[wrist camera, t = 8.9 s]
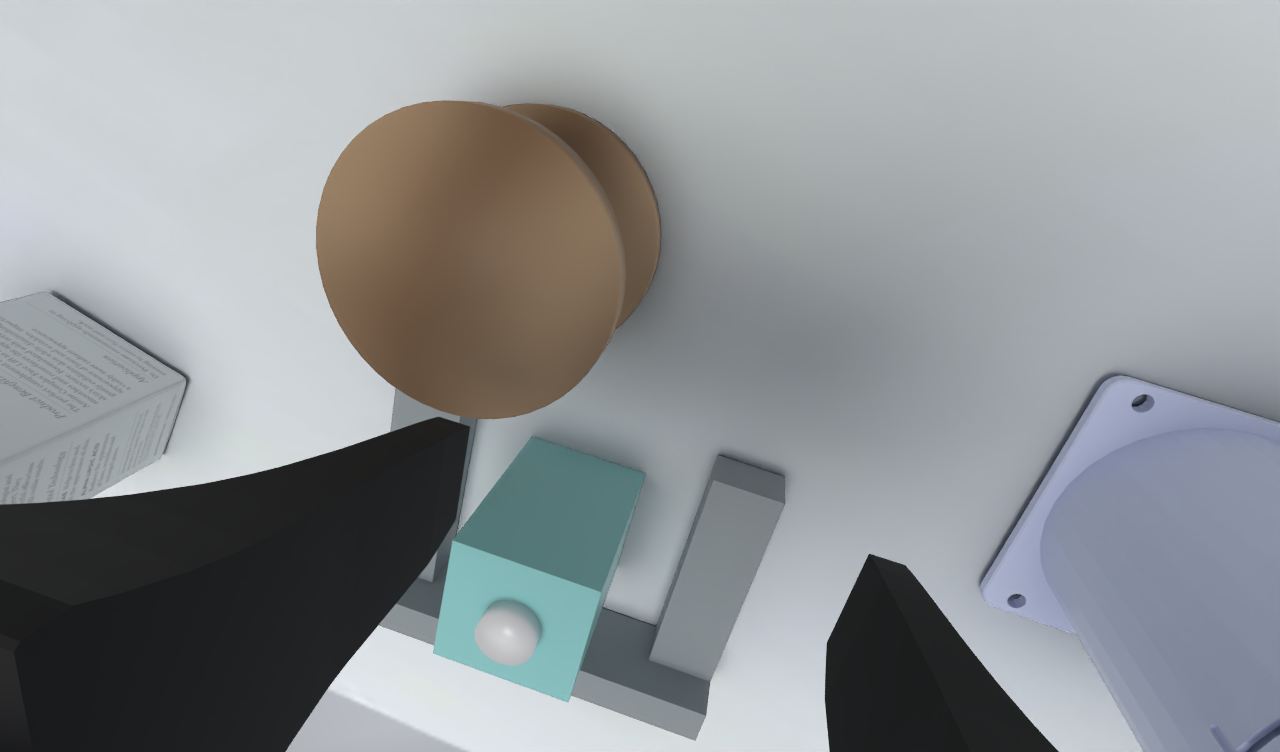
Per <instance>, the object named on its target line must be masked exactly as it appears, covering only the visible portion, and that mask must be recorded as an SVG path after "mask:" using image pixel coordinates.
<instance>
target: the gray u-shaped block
mask: <svg viewBox="0 0 1280 752" xmlns="http://www.w3.org/2000/svg"><path fill="white" fill-rule="evenodd" d="M435 417H442V418H445V419H448V420H451V421H455V422H458V423H461V424H464V425H467V426H470V432H469V438H468V445H467V451H466V458H465V464H464V471H463V477H462V484H461V490H460V497H459V503H458V510H457V516H456V520H455V522H454V524H453V525H452V527H451V529H450V530H449V532H448V534H447V535H446V537H445V539H444V540H443V542H442V543H441V545H440V547H439V548H438V550H437V551H436V553H435V554H434V556H433V558H432V559H431V561H430V562H429V564H428V565H427V566H426V568H425V569H424V570H423V571H422V573H421V574H420V575H419V576H418V578H417V579H416V580H415V581H414V583H413V584H412V585H411V586H410V587H409V589H408V590H407V591H406V592H405V594H404V595H403V596H402V597H401V598H400V600H399V601H398V602H397V603H396V604H395V606H394V607H393V608H392V609H391V610H390V612H389V613H388V614H387V615H386V616H385V618H384V619H383V620H382V621H381V622H380V624H379V625H380V626H383V627H385V628H388V629H391V630H393V631H396V632H399V633H402V634H404V635H407V636H410V637H413V638H415V639H418V640H421V641H424V642H426V643H429V644H432V645H434V644H435V638H436V633H437V627H438V621H439V615H440V610H441V604H442V598H443V592H444V587H445V581H446V575H447V569H448V564H449V558H450V552H451V546H452V541H453V539H454V538H455V537H456V533H457V527H458V522H459V516H460V511H461V505H462V500H463V494H464V489H465V483H466V478H467V472H468V466H469V461H470V455H471V450H472V444H473V439H474V433H475V428H476V422H477V419H476V418H469V417H462V416H457V415H453V414H450V413H446V412H442V411H439V410H437V409H434V408H432V407H429V406H427V405H424V404H422V403H420V402H418V401H417V400H415V399H413V398H411V397H409V396H407V395H406V394H404V393H403V392H401V391H400V390H398V389H397V388H396V390H395V398H394V406H393V414H392V423H391V431H390V432H392V431H395V430H398V429H401V428H404V427H406V426H409V425H412V424H415V423H418V422H421V421H424V420H428V419H431V418H435ZM784 505H785V477H784V476H781V475H777V474H774V473H771V472H768V471H765V470H762V469H759V468H756V467H753V466H750V465H747V464H744V463H741V462H738V461H735V460H732V459H729V458H726V457H723V456H720V455H718V456H717V459H716V462H715V465H714V468H713V470H712V473H711V476H710V479H709V482H708V484H707V487H706V490H705V493H704V496H703V498H702V501H701V504H700V507H699V509H698V512H697V515H696V518H695V521H694V523H693V526H692V529H691V532H690V535H689V537H688V540H687V543H686V546H685V549H684V551H683V554H682V557H681V560H680V562H679V565H678V568H677V571H676V574H675V576H674V579H673V582H672V585H671V588H670V590H669V593H668V596H667V599H666V602H665V604H664V607H663V610H662V613H661V616H660V618H659V621H658V624H657V627H655V626H652V625H650V624H647V623H644V622H641V621H638V620H635V619H633V618H630V617H627V616H624V615H621V614H618V613H616V612H613V611H610V610H607V609H604V608H602V610H601V613H600V616H599V618H598V621H597V624H596V627H595V630H594V632H593V635H592V638H591V641H590V644H589V646H588V649H587V652H586V655H585V657H584V660H583V663H582V666H581V669H580V671H579V674H578V677H577V680H576V683H575V685H574V688H573V691H572V694H571V695H572V696H574V697H577V698H580V699H582V700H585V701H588V702H591V703H593V704H596V705H599V706H602V707H604V708H607V709H610V710H613V711H615V712H618V713H621V714H624V715H626V716H629V717H632V718H635V719H637V720H640V721H643V722H645V723H648V724H651V725H654V726H656V727H659V728H662V729H665V730H667V731H670V732H673V733H676V734H678V735H681V736H684V737H687V738H689V739H692V740H696V738H697V736H698V733H699V731H700V729H701V726H702V724H703V722H704V719H705V717H706V712H707V703H708V695H709V687H710V681H711V679H712V676H713V674H714V671H715V669H716V667H717V664H718V662H719V660H720V657H721V655H722V652H723V650H724V648H725V645H726V643H727V641H728V638H729V636H730V633H731V631H732V629H733V626H734V624H735V622H736V619H737V617H738V614H739V612H740V610H741V607H742V605H743V603H744V600H745V598H746V595H747V593H748V591H749V588H750V586H751V584H752V581H753V579H754V577H755V574H756V572H757V569H758V567H759V565H760V562H761V560H762V558H763V555H764V553H765V550H766V548H767V546H768V543H769V541H770V539H771V536H772V534H773V531H774V529H775V527H776V524H777V522H778V520H779V517H780V515H781V512H782V510H783V508H784Z"/></svg>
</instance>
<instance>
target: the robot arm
mask: <svg viewBox="0 0 1280 752" xmlns="http://www.w3.org/2000/svg"><path fill="white" fill-rule="evenodd" d="M1142 394H1146V395H1147V398H1146V401H1145V402H1144V403H1143V404H1142V405H1139V406H1137V407H1133V406H1131V405H1132V401H1133V400H1134V399H1135V398H1136V397H1137V396H1139V395H1142ZM469 432H470V426H467V425H464V424H461V423H458V422H455V421H451V420H448V419H445V418H442V417H435V418H431V419H428V420H424V421H421V422H418V423H415V424H412V425H409V426H406V427H404V428H401V429H398V430H395V431H392V432H389V433H386V434H384V435H381V436H378V437H375V438H372V439H369V440H366V441H363V442H360V443H357V444H354V445H351V446H348V447H346V448H343V449H339V450H336V451H333V452H329V453H326V454H323V455H319V456H316V457H312V458H309V459H306V460H302V461H299V462H296V463H292V464H289V465H285V466H282V467H278V468H274V469H270V470H266V471H262V472H258V473H254V474H249V475H245V476H240V477H235V478H230V479H225V480H221V481H216V482H211V483H205V484H200V485H193V486H186V487H179V488H173V489H166V490H159V491H152V492H146V493H139V494H132V495H123V496H114V497H104V498H94V499H83V500H70V501H56V502H43V503H24V504H0V752H285V751H286V750H287V748H288V747H289V745H290V744H291V742H292V741H293V739H294V738H295V736H296V735H297V733H298V731H299V730H300V729H301V727H302V726H303V724H304V723H305V721H306V720H307V718H308V717H309V715H310V714H311V712H312V711H313V709H314V708H315V706H316V705H317V704H318V702H319V700H320V699H321V698H322V696H323V695H324V693H325V692H326V690H327V689H328V687H329V686H330V684H331V683H332V682H333V681H334V679H335V678H336V677H337V675H338V674H339V673H340V671H341V670H342V669H343V667H344V666H345V665H346V664H347V662H348V661H349V660H350V659H351V657H352V656H353V655H354V654H355V653H356V651H357V650H358V649H359V648H360V647H361V645H362V644H363V643H364V642H365V641H366V639H367V638H368V637H369V636H370V635H371V633H372V632H373V631H374V630H375V628H376V627H377V626H378V625H379V624H380V622H381V621H382V620H383V619H384V618H385V616H386V615H387V614H388V613H389V612H390V610H391V609H392V608H393V607H394V606H395V604H396V603H397V602H398V601H399V600H400V598H401V597H402V596H403V595H404V594H405V592H406V591H407V590H408V589H409V587H410V586H411V585H412V584H413V583H414V581H415V580H416V579H417V578H418V576H419V575H420V574H421V573H422V571H423V570H424V569H425V568H426V566H427V565H428V564H429V562H430V561H431V559H432V558H433V556H434V554H435V553H436V551H437V550H438V548H439V547H440V545H441V543H442V542H443V540H444V539H445V537H446V535H447V534H448V532H449V530H450V529H451V527H452V525H453V524H454V522H455V520H456V516H457V510H458V503H459V497H460V490H461V484H462V477H463V471H464V464H465V458H466V451H467V445H468V438H469ZM980 592H981V595H982V597H983V599H984V601H985V602H986V603H987V604H989V605H990V606H992V607H995V608H998V609H1001V610H1004V611H1007V612H1010V613H1013V614H1016V615H1019V616H1022V617H1025V618H1028V619H1031V620H1034V621H1037V622H1040V623H1043V624H1046V625H1049V626H1051V627H1054V628H1057V629H1060V630H1063V631H1066V632H1069V633H1072V634H1075V635H1077V636H1078V638H1079V639H1080V641H1081V643H1082V645H1083V646H1084V648H1085V650H1086V652H1087V653H1088V655H1089V657H1090V659H1091V660H1092V662H1093V664H1094V666H1095V667H1096V669H1097V671H1098V673H1099V674H1100V676H1101V678H1102V680H1103V681H1104V683H1105V685H1106V687H1107V688H1108V690H1109V692H1110V694H1111V695H1112V697H1113V699H1114V701H1115V702H1116V704H1117V706H1118V708H1119V709H1120V711H1121V713H1122V715H1123V716H1124V718H1125V720H1126V722H1127V723H1128V725H1129V727H1130V729H1131V730H1132V732H1133V734H1134V736H1135V737H1136V739H1137V741H1138V743H1139V744H1140V746H1141V748H1142V750H1143V751H1144V752H1280V423H1279V422H1276V421H1273V420H1270V419H1266V418H1263V417H1260V416H1256V415H1253V414H1250V413H1247V412H1243V411H1240V410H1237V409H1233V408H1230V407H1227V406H1224V405H1220V404H1217V403H1214V402H1210V401H1207V400H1204V399H1201V398H1197V397H1194V396H1191V395H1188V394H1184V393H1181V392H1178V391H1174V390H1171V389H1168V388H1165V387H1161V386H1158V385H1155V384H1151V383H1148V382H1145V381H1142V380H1138V379H1135V378H1132V377H1129V376H1121V375H1120V376H1115V377H1111V378H1109V379H1108V380H1106V381H1104V382H1103V384H1102V385H1101V386H1100V387H1099V388H1098V390H1097V392H1096V393H1095V395H1094V397H1093V398H1092V400H1091V402H1090V403H1089V405H1088V407H1087V408H1086V410H1085V412H1084V413H1083V415H1082V417H1081V418H1080V420H1079V422H1078V423H1077V425H1076V427H1075V428H1074V430H1073V432H1072V433H1071V435H1070V437H1069V438H1068V440H1067V442H1066V443H1065V445H1064V447H1063V448H1062V450H1061V452H1060V453H1059V455H1058V457H1057V458H1056V460H1055V461H1054V463H1053V465H1052V466H1051V468H1050V470H1049V471H1048V473H1047V475H1046V476H1045V478H1044V480H1043V481H1042V483H1041V485H1040V486H1039V488H1038V490H1037V491H1036V493H1035V495H1034V496H1033V498H1032V500H1031V501H1030V503H1029V505H1028V506H1027V508H1026V510H1025V511H1024V513H1023V515H1022V516H1021V518H1020V520H1019V521H1018V523H1017V525H1016V526H1015V528H1014V530H1013V531H1012V533H1011V534H1010V536H1009V538H1008V539H1007V541H1006V543H1005V544H1004V546H1003V548H1002V549H1001V551H1000V553H999V554H998V556H997V558H996V559H995V561H994V563H993V564H992V566H991V568H990V569H989V571H988V573H987V574H986V576H985V578H984V579H983V581H982V583H981V585H980ZM1014 594H1021V596H1020V597H1019V598H1017V599H1008V598H1009V597H1010V596H1011V595H1014ZM825 706H826V717H827V728H828V738H829V749H830V752H1059V751H1058V750H1057V749H1056V748H1055V747H1054V746H1053V745H1052V744H1051V743H1050V742H1049V741H1048V740H1047V739H1046V738H1045V737H1044V736H1043V734H1042V733H1041V732H1040V731H1039V730H1038V729H1037V728H1036V727H1035V726H1034V725H1033V724H1032V722H1031V721H1030V720H1029V719H1028V718H1027V717H1026V715H1025V714H1024V713H1023V712H1022V711H1021V710H1020V709H1019V707H1018V706H1017V705H1016V704H1015V703H1014V702H1013V700H1012V699H1011V698H1010V697H1009V696H1008V695H1007V693H1006V692H1005V691H1004V690H1003V689H1002V688H1001V686H1000V685H999V684H998V683H997V682H996V680H995V679H994V678H993V677H992V675H991V674H990V673H989V672H988V671H987V669H986V668H985V667H984V666H983V664H982V663H981V662H980V661H979V659H978V658H977V657H976V656H975V654H974V653H973V652H972V651H971V649H970V648H969V647H968V645H967V644H966V643H965V642H964V640H963V639H962V638H961V636H960V635H959V634H958V632H957V631H956V630H955V629H954V627H953V626H952V625H951V623H950V622H949V621H948V619H947V618H946V617H945V615H944V614H943V613H942V611H941V610H940V609H939V607H938V606H937V605H936V603H935V602H934V601H933V599H932V598H931V597H930V595H929V594H928V593H927V592H926V590H925V589H924V588H923V586H922V585H921V584H920V582H919V581H918V580H917V579H916V577H915V576H914V575H913V574H912V573H911V571H910V570H909V569H908V568H907V567H906V566H905V565H903V564H900V563H896V562H893V561H890V560H887V559H884V558H881V557H878V556H875V555H871V554H869V555H868V557H867V559H866V561H865V564H864V566H863V568H862V570H861V572H860V574H859V576H858V578H857V581H856V583H855V585H854V587H853V589H852V591H851V593H850V595H849V597H848V600H847V602H846V604H845V606H844V608H843V610H842V612H841V614H840V616H839V619H838V621H837V623H836V625H835V627H834V629H833V631H832V633H831V635H830V638H829V640H828V642H827V653H826V674H825Z"/></svg>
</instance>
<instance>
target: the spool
mask: <svg viewBox="0 0 1280 752" xmlns="http://www.w3.org/2000/svg"><path fill="white" fill-rule="evenodd" d="M660 245H661V222H660V215H659V209H658V204H657V200H656V197H655V194H654V191H653V188H652V185H651V183H650V181H649V179H648V177H647V174H646V172H645V170H644V169H643V167H642V166H641V164H640V162H639V161H638V159H637V158H636V156H635V155H634V154H633V153H632V151H631V150H630V149H629V148H628V146H627V145H626V144H625V143H624V142H623V141H622V140H621V139H620V138H619V137H618V136H617V135H615V134H614V133H613V132H612V131H611V130H609V129H608V128H607V127H605V126H604V125H602V124H601V123H600V122H598V121H596V120H594V119H592V118H590V117H589V116H587V115H585V114H582V113H580V112H577V111H574V110H572V109H569V108H564V107H560V106H555V105H544V104H517V105H509V106H505V107H500V106H495V105H491V104H486V103H480V102H466V101H433V102H423V103H419V104H415V105H411V106H406V107H403V108H401V109H398V110H396V111H393V112H391V113H389V114H386V115H384V116H383V117H381V118H380V119H378V120H376V121H375V122H373V123H372V124H370V125H368V126H367V127H366V128H365V129H364V130H363V131H362V132H361V133H359V134H358V135H357V136H356V137H355V138H354V139H353V140H352V141H351V142H350V144H349V145H348V146H347V147H346V148H345V150H344V151H343V152H342V153H341V155H340V157H339V158H338V160H337V162H336V163H335V165H334V167H333V168H332V170H331V172H330V174H329V177H328V179H327V182H326V184H325V187H324V189H323V193H322V197H321V201H320V205H319V209H318V217H317V226H316V249H317V257H318V265H319V271H320V275H321V279H322V283H323V287H324V290H325V293H326V296H327V298H328V301H329V304H330V307H331V309H332V311H333V313H334V315H335V317H336V319H337V321H338V323H339V325H340V327H341V328H342V330H343V331H344V333H345V335H346V336H347V338H348V339H349V341H350V342H351V344H352V345H353V346H354V348H355V349H356V350H357V351H358V353H359V354H360V355H361V357H362V358H363V359H364V360H365V361H366V362H367V363H368V364H369V365H370V366H371V367H372V368H373V369H374V370H375V371H376V372H377V373H378V374H379V375H380V376H381V377H383V378H384V379H385V380H386V381H387V382H389V383H390V384H391V385H392V386H394V387H395V388H397V389H398V390H400V391H401V392H403V393H404V394H406V395H407V396H409V397H411V398H413V399H415V400H417V401H418V402H420V403H422V404H424V405H427V406H429V407H432V408H434V409H437V410H439V411H442V412H446V413H450V414H453V415H457V416H462V417H469V418H476V419H499V418H508V417H515V416H519V415H523V414H527V413H530V412H533V411H535V410H538V409H540V408H543V407H545V406H547V405H549V404H551V403H552V402H554V401H556V400H557V399H559V398H561V397H562V396H564V395H565V394H566V393H567V392H569V391H570V390H571V389H572V388H574V387H575V386H576V385H577V384H578V383H579V382H580V381H581V380H582V378H583V377H584V376H585V375H586V374H587V373H588V372H589V370H590V369H591V368H592V366H593V365H594V364H595V362H596V361H597V360H598V358H599V357H600V355H601V354H602V352H603V351H604V349H605V348H606V347H607V345H608V343H609V341H610V339H611V337H612V335H613V333H614V331H615V329H616V328H618V327H619V326H620V325H621V324H622V323H623V322H624V321H625V320H626V319H627V318H628V317H629V316H630V315H631V314H632V312H633V311H634V309H635V308H636V307H637V305H638V304H639V302H640V301H641V300H642V298H643V297H644V295H645V294H646V292H647V290H648V288H649V286H650V284H651V282H652V279H653V276H654V274H655V271H656V268H657V264H658V259H659V254H660Z"/></svg>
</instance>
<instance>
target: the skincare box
mask: <svg viewBox="0 0 1280 752" xmlns="http://www.w3.org/2000/svg"><path fill="white" fill-rule="evenodd" d="M185 386H186V379H185V378H184V377H183V376H182V375H180V374H179V373H177V372H175V371H174V370H172V369H170V368H169V367H167V366H165V365H164V364H162V363H161V362H159V361H157V360H156V359H154V358H153V357H151V356H149V355H148V354H146V353H145V352H143V351H141V350H140V349H138V348H136V347H135V346H133V345H132V344H130V343H128V342H127V341H125V340H124V339H122V338H120V337H119V336H117V335H116V334H114V333H112V332H111V331H109V330H108V329H106V328H104V327H103V326H101V325H100V324H98V323H96V322H95V321H93V320H92V319H90V318H88V317H87V316H85V315H83V314H82V313H80V312H79V311H77V310H75V309H74V308H72V307H71V306H69V305H67V304H66V303H64V302H63V301H61V300H59V299H58V298H56V297H54V296H53V295H51V294H49V293H47V292H42V293H37V294H32V295H28V296H24V297H20V298H16V299H12V300H7V301H3V302H0V504H24V503H43V502H56V501H70V500H83V499H90V498H91V497H93V496H95V495H97V494H98V493H100V492H102V491H104V490H106V489H107V488H109V487H111V486H113V485H114V484H116V483H118V482H120V481H121V480H123V479H125V478H126V477H128V476H130V475H132V474H134V473H135V472H137V471H139V470H141V469H142V468H144V467H146V466H148V465H150V464H152V463H153V462H155V461H157V460H158V459H160V457H161V455H162V454H163V452H164V450H165V447H166V444H167V442H168V439H169V437H170V434H171V431H172V429H173V425H174V423H175V419H176V417H177V413H178V411H179V408H180V404H181V401H182V397H183V394H184V390H185Z"/></svg>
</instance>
